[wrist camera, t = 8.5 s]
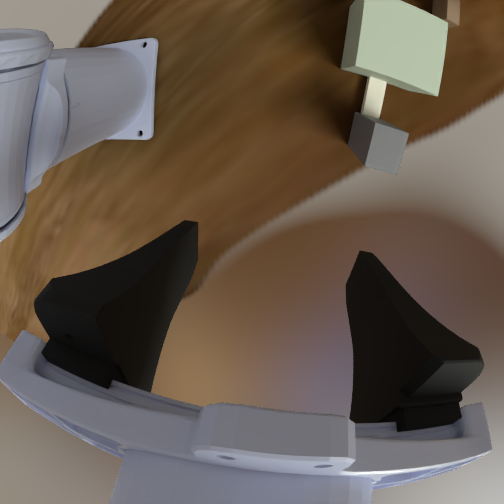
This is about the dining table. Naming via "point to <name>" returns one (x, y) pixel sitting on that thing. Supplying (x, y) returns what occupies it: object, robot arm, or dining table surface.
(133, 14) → the dining table surface
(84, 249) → the dining table surface
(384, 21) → the sage block
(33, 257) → the dining table surface
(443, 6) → the frame
